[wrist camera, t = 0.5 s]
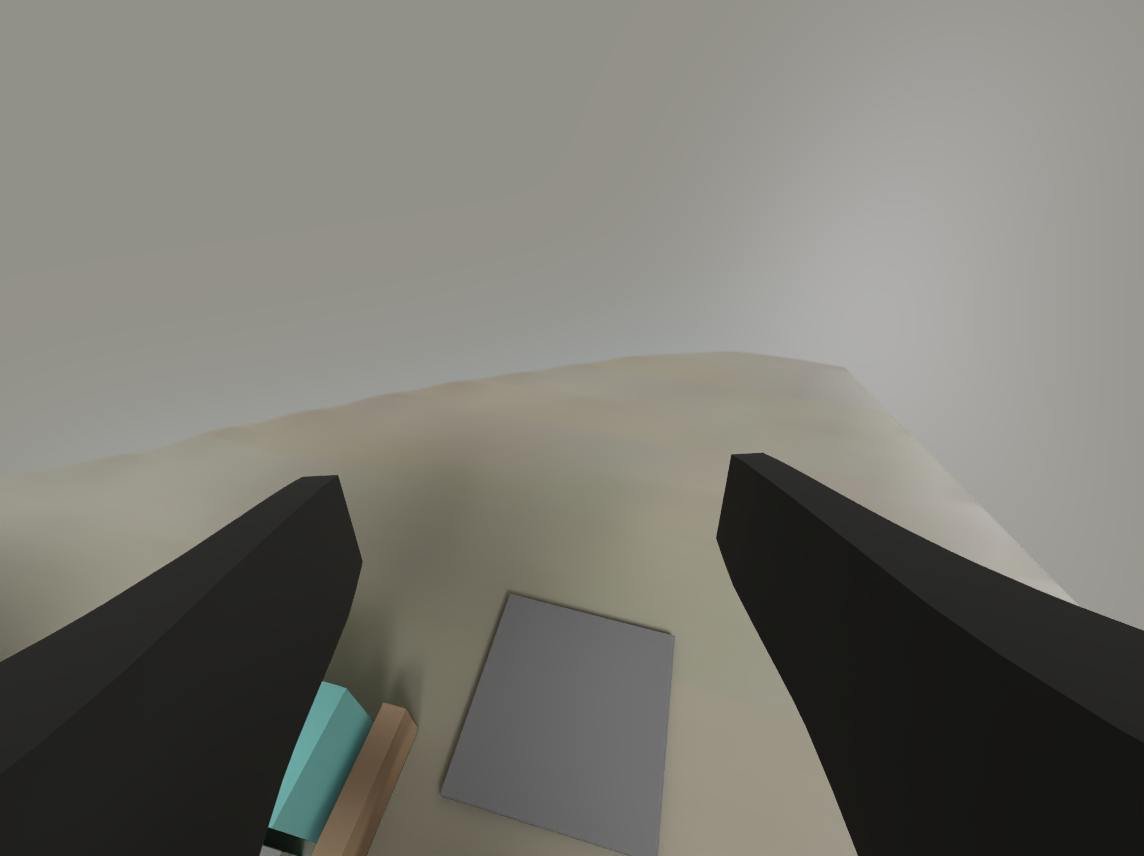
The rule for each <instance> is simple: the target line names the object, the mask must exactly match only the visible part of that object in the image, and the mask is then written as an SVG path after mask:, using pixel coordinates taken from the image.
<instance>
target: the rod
mask: <svg viewBox="0 0 1144 856" xmlns="http://www.w3.org/2000/svg"><path fill="white" fill-rule="evenodd" d="M260 856H297V855H294V854H291V853H288V852H285V851H282V850H279V849H276V848H273V847H270V846H267V845H263V846H262V849H261V852H260Z"/></svg>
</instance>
